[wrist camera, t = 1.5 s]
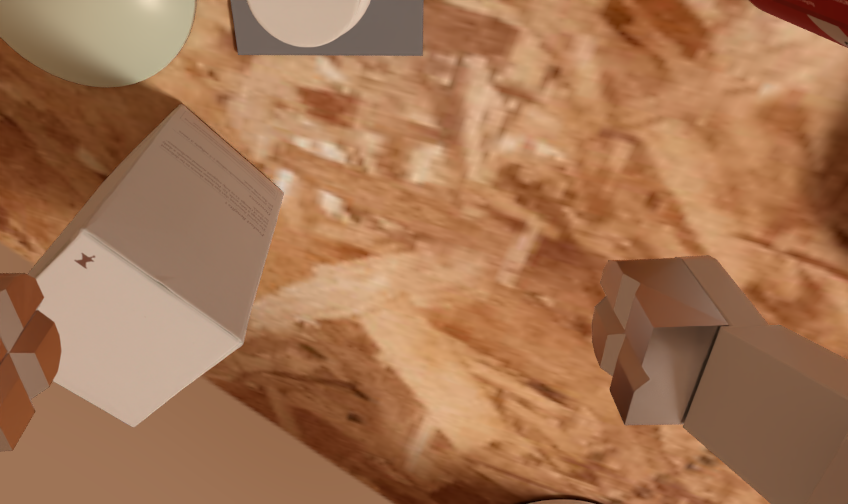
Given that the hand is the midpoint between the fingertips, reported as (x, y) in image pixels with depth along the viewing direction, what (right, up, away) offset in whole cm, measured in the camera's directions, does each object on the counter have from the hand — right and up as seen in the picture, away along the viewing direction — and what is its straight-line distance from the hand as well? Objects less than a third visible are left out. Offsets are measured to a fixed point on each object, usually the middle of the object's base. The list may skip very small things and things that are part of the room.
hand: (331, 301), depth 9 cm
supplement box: (-11, +4, +26) cm, 28 cm away
